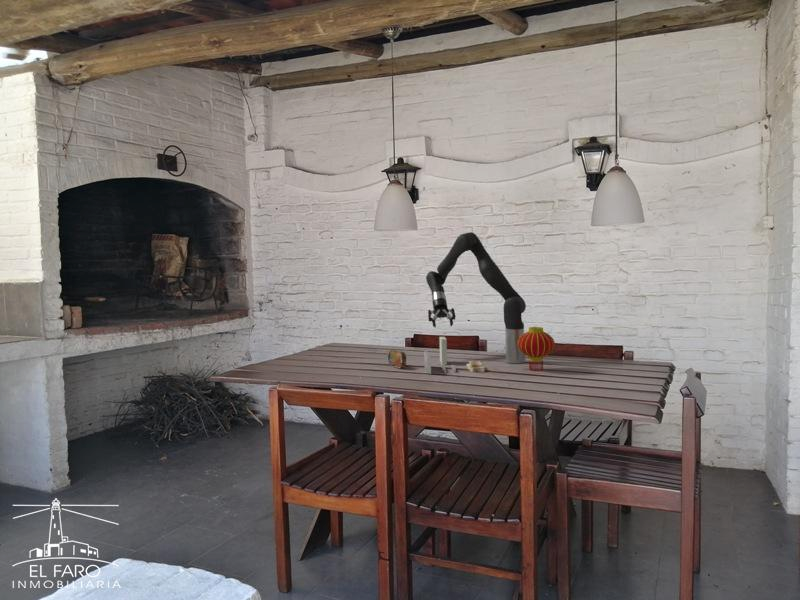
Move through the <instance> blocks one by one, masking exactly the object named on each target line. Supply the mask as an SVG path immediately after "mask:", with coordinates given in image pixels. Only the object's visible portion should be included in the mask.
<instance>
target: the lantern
mask: <svg viewBox="0 0 800 600" xmlns="http://www.w3.org/2000/svg"><path fill="white" fill-rule="evenodd" d="M517 345H518V348H519V350H520V351H521V352H522V353H523V354H524V355H525V357H528V359H529V361H528V366H529V367H528V370H529V371H532V370H534V371H535V372H539V371H540V372H541V371H543V370H544V364H543V363H544V360H543V359H544V357H547V356H548V355H549V354H552V352H553V351H554V349H555V347H556V346H555V345H556V342H555V340H554V338H553V336H552V335H550V334H549V333H547V332H545V331H544V327H539V326H532V327H531V326H530V327H528V331H527V332H524V334H523V335H521V336H520V338H519V339H518V342H517Z"/></svg>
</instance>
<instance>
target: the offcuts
mask: <svg viewBox="0 0 800 600" xmlns="http://www.w3.org/2000/svg"><path fill="white" fill-rule="evenodd" d="M467 367H468V368H467ZM466 368H467V369H468V370H469V372H470V373H472V372H476V373H485V367H484V366H483V364H482V363H481V361H480V360H469V362H468V363H466Z"/></svg>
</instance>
